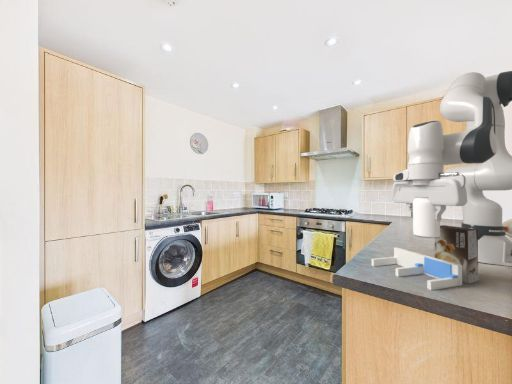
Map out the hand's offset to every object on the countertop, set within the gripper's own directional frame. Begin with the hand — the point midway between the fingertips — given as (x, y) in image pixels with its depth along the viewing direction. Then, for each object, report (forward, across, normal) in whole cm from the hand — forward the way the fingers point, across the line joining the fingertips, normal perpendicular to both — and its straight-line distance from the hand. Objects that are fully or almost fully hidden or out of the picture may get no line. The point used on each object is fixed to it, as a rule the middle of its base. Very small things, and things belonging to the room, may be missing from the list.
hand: (424, 219), depth 66 cm
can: (+5, -1, 0) cm, 5 cm away
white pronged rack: (+19, +5, -1) cm, 20 cm away
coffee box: (+19, 0, -13) cm, 23 cm away
